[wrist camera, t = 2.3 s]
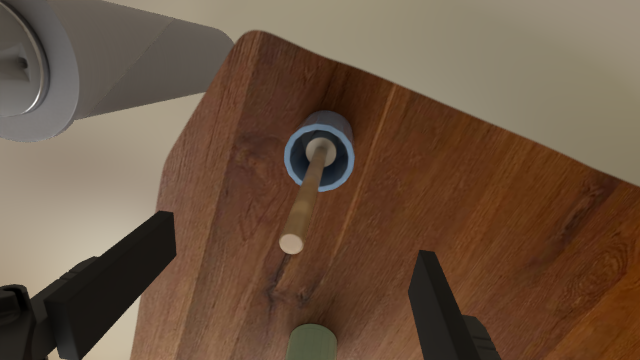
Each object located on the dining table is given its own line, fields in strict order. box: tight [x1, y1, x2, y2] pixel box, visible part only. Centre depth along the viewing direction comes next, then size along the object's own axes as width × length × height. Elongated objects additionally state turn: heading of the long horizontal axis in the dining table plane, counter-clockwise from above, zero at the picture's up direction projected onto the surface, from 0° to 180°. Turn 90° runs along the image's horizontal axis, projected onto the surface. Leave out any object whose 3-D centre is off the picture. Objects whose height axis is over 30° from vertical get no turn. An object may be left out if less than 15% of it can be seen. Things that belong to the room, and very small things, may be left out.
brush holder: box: [284, 110, 355, 192], centre depth 35 cm, size 7×7×9 cm
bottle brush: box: [279, 130, 339, 254], centre depth 28 cm, size 3×3×24 cm
